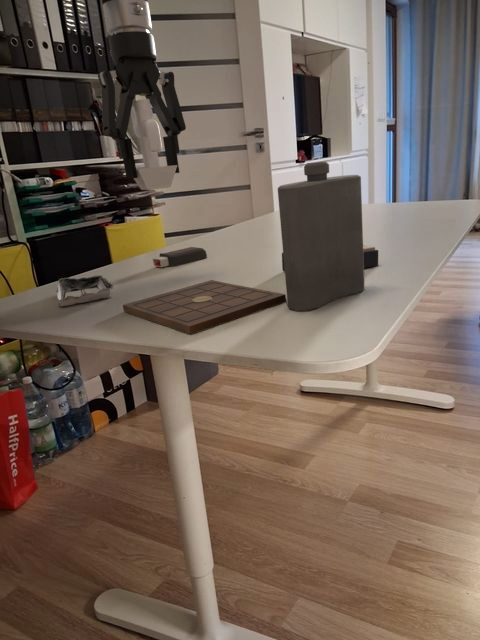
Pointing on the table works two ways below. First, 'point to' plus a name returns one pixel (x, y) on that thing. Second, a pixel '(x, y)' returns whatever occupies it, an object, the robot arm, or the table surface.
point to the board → (203, 305)
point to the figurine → (150, 149)
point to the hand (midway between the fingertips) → (153, 175)
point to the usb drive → (180, 257)
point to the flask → (321, 237)
